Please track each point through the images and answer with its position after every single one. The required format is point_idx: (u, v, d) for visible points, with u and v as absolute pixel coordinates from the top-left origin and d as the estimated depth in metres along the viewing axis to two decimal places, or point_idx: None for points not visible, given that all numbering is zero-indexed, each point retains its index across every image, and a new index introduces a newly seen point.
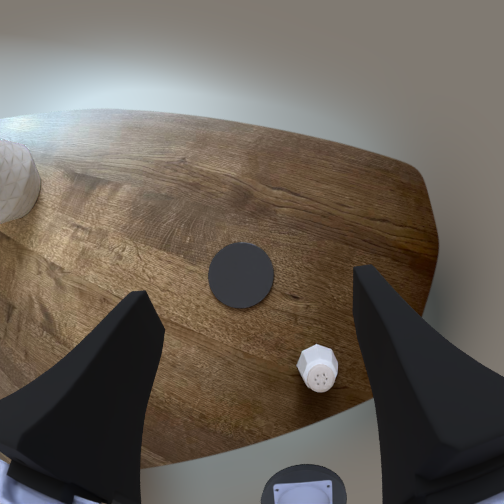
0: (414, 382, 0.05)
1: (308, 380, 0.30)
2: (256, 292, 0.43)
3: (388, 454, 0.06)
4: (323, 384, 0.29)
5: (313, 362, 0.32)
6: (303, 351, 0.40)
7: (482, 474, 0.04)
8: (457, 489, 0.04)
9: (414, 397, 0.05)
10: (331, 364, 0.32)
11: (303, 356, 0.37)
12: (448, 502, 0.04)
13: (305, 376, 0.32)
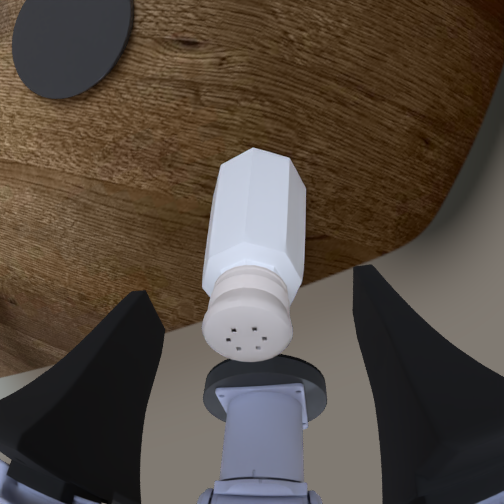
0: (414, 382, 0.05)
1: (207, 339, 0.10)
2: (98, 53, 0.14)
3: (388, 454, 0.06)
4: (256, 350, 0.10)
5: (226, 254, 0.11)
6: (222, 168, 0.17)
7: (482, 474, 0.04)
8: (457, 489, 0.04)
9: (414, 397, 0.05)
10: (283, 259, 0.11)
11: (216, 193, 0.15)
12: (448, 502, 0.04)
13: (209, 290, 0.12)
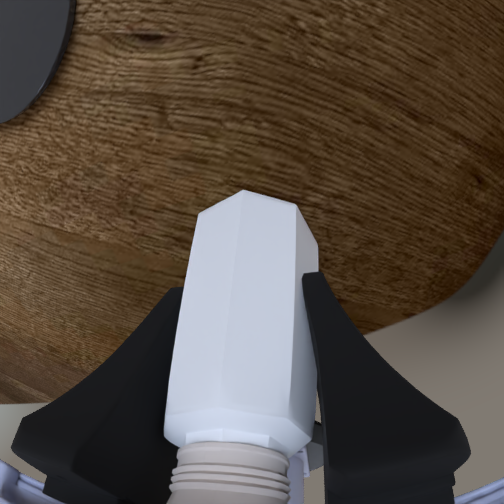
0: (327, 397, 0.05)
1: None
2: (31, 61, 0.09)
3: (324, 464, 0.07)
4: None
5: (191, 418, 0.06)
6: (199, 221, 0.12)
7: (406, 499, 0.04)
8: None
9: (324, 412, 0.05)
10: (285, 426, 0.06)
11: None
12: None
13: (174, 442, 0.07)
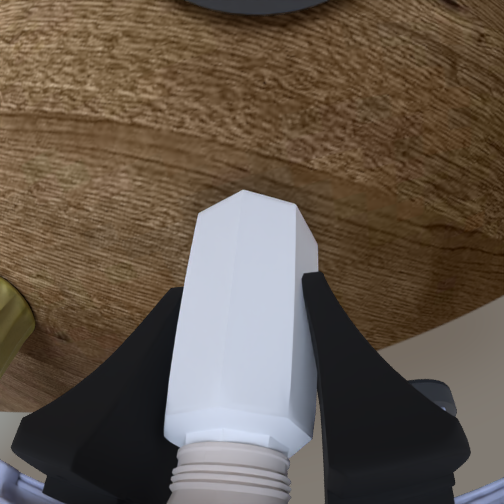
0: (326, 397, 0.05)
1: None
2: None
3: None
4: None
5: (191, 418, 0.06)
6: (199, 220, 0.12)
7: (405, 499, 0.04)
8: None
9: (324, 412, 0.05)
10: (285, 425, 0.06)
11: (187, 268, 0.10)
12: None
13: (174, 442, 0.07)
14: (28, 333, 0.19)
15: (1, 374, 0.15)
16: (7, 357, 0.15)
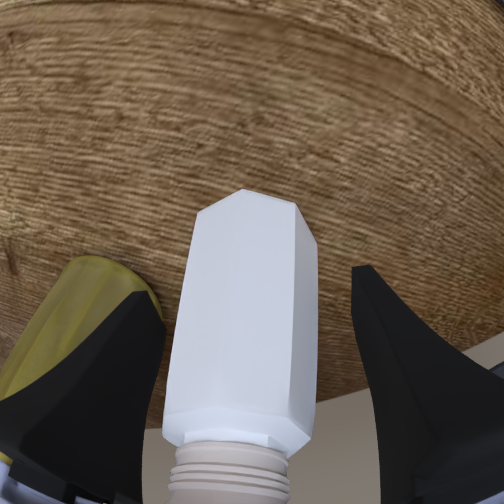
0: (411, 383, 0.05)
1: None
2: None
3: (386, 454, 0.06)
4: None
5: (190, 417, 0.06)
6: (198, 220, 0.12)
7: (480, 475, 0.04)
8: (455, 490, 0.04)
9: (411, 397, 0.05)
10: (284, 425, 0.06)
11: (186, 267, 0.10)
12: (445, 503, 0.04)
13: (173, 442, 0.07)
14: None
15: None
16: None
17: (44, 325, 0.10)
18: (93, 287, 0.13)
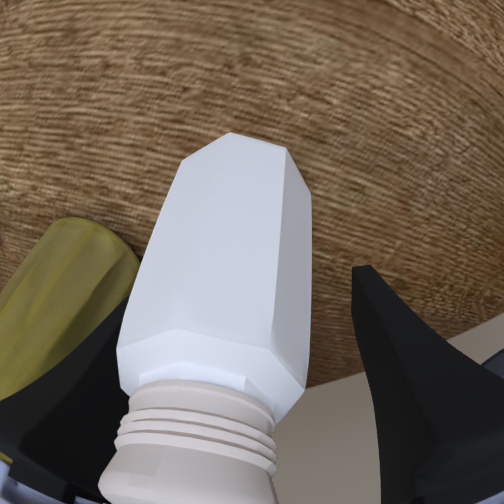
0: (412, 382, 0.05)
1: None
2: None
3: (386, 454, 0.06)
4: None
5: (144, 349, 0.05)
6: (182, 165, 0.11)
7: (480, 475, 0.04)
8: (455, 490, 0.04)
9: (412, 397, 0.05)
10: (266, 362, 0.05)
11: None
12: (446, 503, 0.04)
13: None
14: None
15: None
16: None
17: (16, 289, 0.09)
18: (70, 248, 0.11)
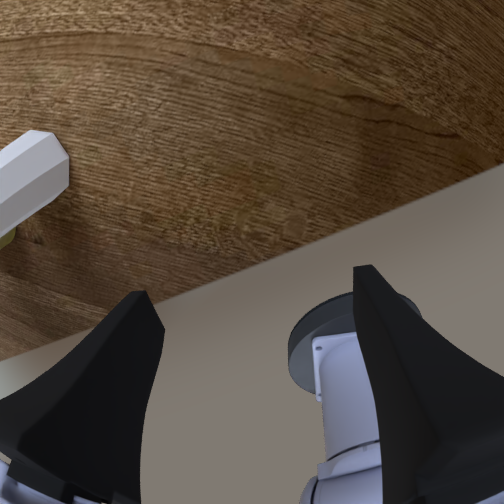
0: (414, 382, 0.05)
1: None
2: None
3: (388, 454, 0.06)
4: None
5: None
6: None
7: (482, 474, 0.04)
8: (457, 489, 0.04)
9: (413, 397, 0.05)
10: None
11: None
12: (448, 502, 0.04)
13: None
14: (8, 238, 0.20)
15: None
16: None
17: None
18: None
